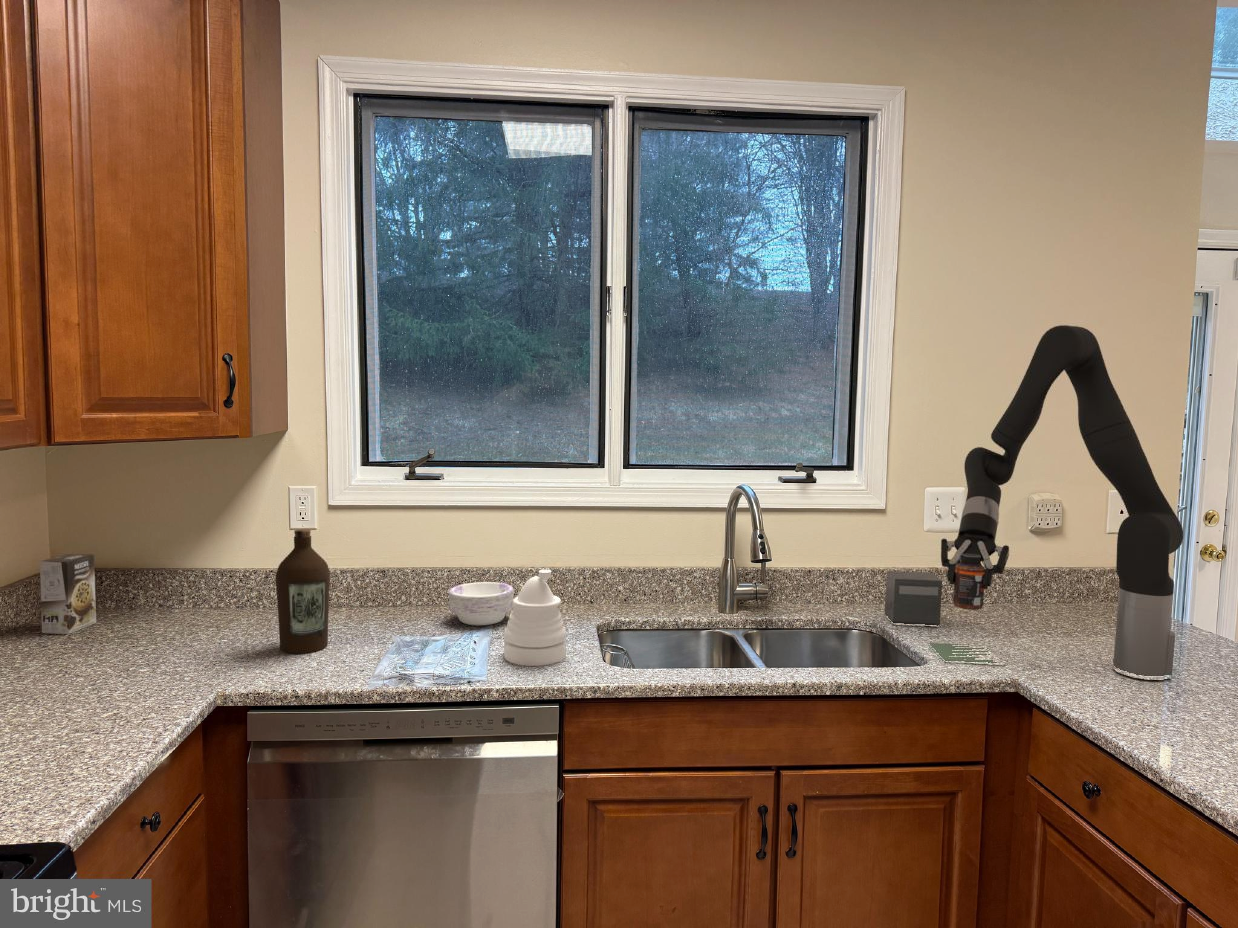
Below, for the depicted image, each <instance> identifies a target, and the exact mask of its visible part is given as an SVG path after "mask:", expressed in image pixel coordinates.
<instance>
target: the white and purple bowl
mask: <svg viewBox="0 0 1238 928" xmlns="http://www.w3.org/2000/svg"><path fill="white" fill-rule="evenodd" d="M448 591H449V592H448V600H449V602H448V604H449V605H448V606H449V611H450V612H451V613H453V614H454V615H455V614H456V616H457V618H458V619H459V621H460V622H462V623H463V624H465V625H470V626H477V627H478V626H479V627H480V626H491V625H495V624H498V623H500V622H502V621H503V620H504V618H505V616H506V613H507V612H510V611H511V610H513V607H514V604H513V599H514V593H515V591H514V588H513V586H512V585H510V584H507V583H503V582H494V581H483V582H482V581H480V582H479V581H478V582H470V583H469V582H468V583H463V584H459V585H455V586H454V587H453V586H452V587H451V588H450V589H449V590H448Z"/></svg>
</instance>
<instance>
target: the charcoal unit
mask: <svg viewBox="0 0 1238 928" xmlns="http://www.w3.org/2000/svg"><path fill="white" fill-rule="evenodd" d="M885 580H886V581H885V596H884V597H885V600H884V601H885V602H884V616H885V615H886V616H888V618H889V619H890V620H891V621H892V622H893V623H904V624H925V625H937V626H938V625H939V626H940V627H941V612H942V611H941V610H942V595H943V594H942V592H943V580H942V579H941V578H939V577H938V576H937V575H936V574H935V573H933V572H928V571H927V572H922V571H900V570H898V571H897V570H886V579H885Z"/></svg>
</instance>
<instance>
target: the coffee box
mask: <svg viewBox="0 0 1238 928" xmlns="http://www.w3.org/2000/svg"><path fill="white" fill-rule="evenodd" d="M39 573H40V575H39V577H40V579H39V580H40V605H41V606H40V607H41V608H40V610H41V611H40V613H41V615H40V616H41V634H56V635H70V634H72V633H75V632H78V631H80V630H82V629H84V628H87V627H89V626H92V625H94V624H96V623H97V608H96V607H97V606H96V579H95V578H96V576H95V554H94V553H76V554H75V553H74V554H73V553H67V554H64V555H59V556H56V557H51V558H48V559H45V560H40V561H39Z"/></svg>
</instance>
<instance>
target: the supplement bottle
mask: <svg viewBox="0 0 1238 928" xmlns="http://www.w3.org/2000/svg"><path fill="white" fill-rule="evenodd" d="M960 560H961V562H960V563H958V564H957V565H956V566H955V578H954V584H953V595H952V596H953V599H952V603H953V606H955V607H957V608H959V609H964V610H973V611H977V610H980V609H982V608H983V607H984V599H985V598H984V597H985V596H984V595H985V589H983V580H984V574H985V567H984V565H983V563H982V561H981V556H980V555H977V554H968V553H964V554H961V559H960Z"/></svg>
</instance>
